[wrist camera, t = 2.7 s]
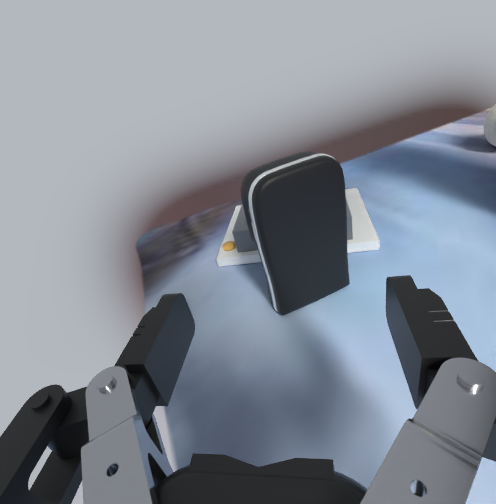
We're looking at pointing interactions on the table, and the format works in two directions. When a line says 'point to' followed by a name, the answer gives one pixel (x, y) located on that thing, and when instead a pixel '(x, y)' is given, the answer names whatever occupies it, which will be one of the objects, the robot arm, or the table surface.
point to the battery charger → (299, 227)
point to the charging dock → (245, 250)
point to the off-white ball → (491, 126)
